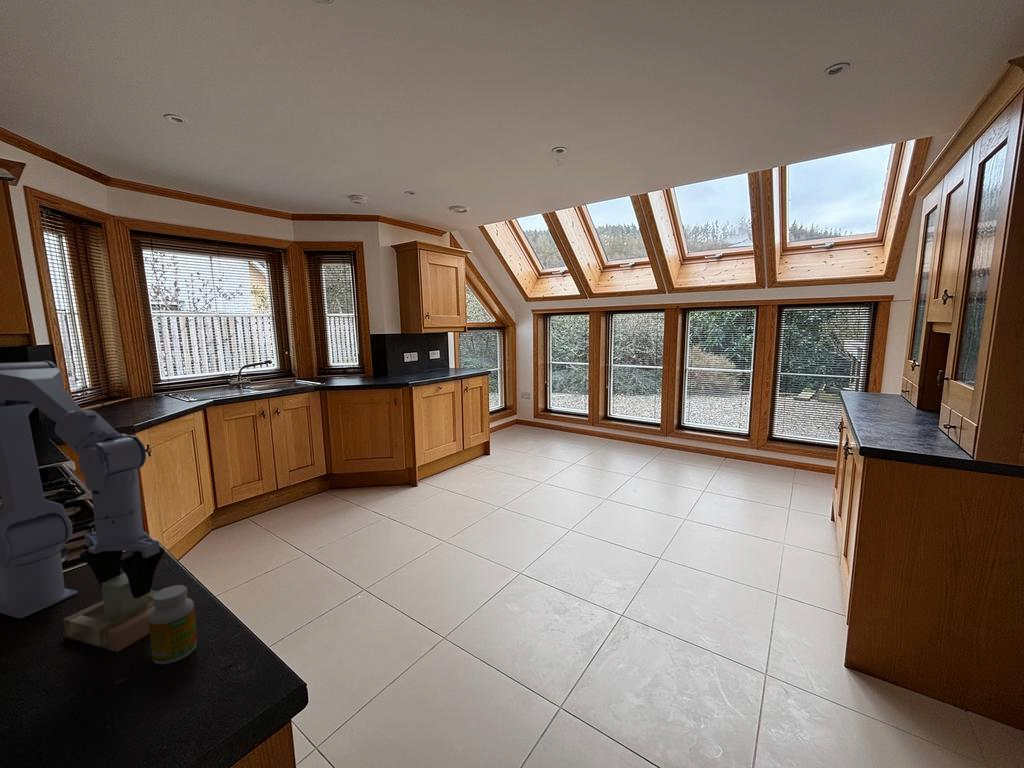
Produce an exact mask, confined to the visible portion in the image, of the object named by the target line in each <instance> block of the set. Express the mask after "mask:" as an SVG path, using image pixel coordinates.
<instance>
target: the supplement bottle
mask: <svg viewBox="0 0 1024 768" xmlns="http://www.w3.org/2000/svg"><path fill="white" fill-rule="evenodd" d="M157 591H158V592H157V593H156V594H155V595H154V596H153V605H154V607H155V608H154V609H153V610H152V611H151V612H150V614H149V628H150V633H149V637H150V646H151V647H150V648H151V658H152V661H153V663H155V664H157V665H169V664H172V663H175V662H176V663H177V662H178V661H180V660H182V659H185V658H187V657H188V656H189V655H190V654H192V652H194V651H195V649H196V648H197V645H198V638H197V625H196V614H195V604H194V601H193V600H192V598H190V597H188V589H187V586H185V585H182V584H179V585H178V584H177V585H171V586H168V587H165V588H162V589H160V590H157Z"/></svg>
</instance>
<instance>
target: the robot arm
mask: <svg viewBox="0 0 1024 768" xmlns="http://www.w3.org/2000/svg"><path fill="white" fill-rule="evenodd" d="M63 386H64V377H63V372H62V370H61V369H60V368H59V366H57V365H56V363H54V362H53V361H51V360H41V361H25V362H24V361H22V362H21V361H20V362H0V498H1V503H2V504H1V505H2V507H1V508H0V614H2V613H3V614H2V615H5V614H6V616H10V617H13V618H15V619H23V618H25V617H28V616H30V615H32V614H35V613H37V612H40V611H42V610H44V609H47V608H49V607H51V606H52V605H55V604H57V603H59V602H62V601H65V600H66V599H69V598H70V597H73V596H75V595H77V594H78V591H77V590H74V589H70V588H66V587H65V580H64V579H65V578H64V573H63V572H64V571H63V564H62V554H61V550H63V549H65V548H66V545H65V544H67V542H69V540H70V539H71V537H72V535H73V524H72V521H71V519H70V518H69V517H68V515H67V512H66V509H65V507H64V505H63V504H61V503H60V502H56V501H52V500H48V499H46V498H45V494H44V490H43V485H42V480H41V475H40V470H39V466H38V465H39V464H38V459H37V455H36V450H35V443H34V440H33V436H32V435H33V434H32V429H31V424H30V419H29V415H30V414H31V413H32V411H33V410H34V409H35V408H37V409H38V410H40V411H41V412H42V413H43V414H45V415H46V416H47V417H48V418H49V419H51V420H52V421H54V422H55V423H56V424H55V426H54V433H55V434H56V435H57V437H59V438H60V439H61V440H62V441H63V443H64V444H66V445H67V446H68V448H70V449H71V450H72V451H73V452H74V453H75V454H76V455H77V456H78V457H79V459H78V460H77V463H78V468H79V470H80V472H81V474H82V475H83V477H84V480H85V486H86V487H87V490H89V491H91V497H92V499H91V500H92V508H93V509H92V510H93V518H94V529H95V530H94V531H92V532H89V533H87V534H84V540H85V541H84V542H85V546H86V547H88V549H87V550H85V551H82V552H81V553H80V554H79V558H80V559H82V560H83V561H84V562H85V563H86V564H87V565H88V566H89V568H90V570H91V571H92V572H93V575H94V577H95V578H96V581H97V583H98V585H99V586H100V588H101V590H102V583H104V582H106V581H108V580H110V579H112V578H115V577H117V576H119V575H121V569H122V570H123V573H125V574H126V576H127V578H128V581H129V585H130V589H131V593H132V595H133V597H134V598H136V599H137V598H139V597H141V596H143V595H145V594H147V593H149V592H150V590H152V587H153V580H154V577H155V574H156V570H157V567H158V564H159V563H160V561H161V559H162V557H163V556H164V554H165V548H164V547H160V543H159V540H155V539H153V538H152V537H151V536H150V535H149V534H148V533H147V532H146V531H145V530H144V522H143V521H144V520H143V511H142V500H141V490H140V489H141V488H140V479H139V469H141V468H142V467H143V466H144V465H145V463H146V459H147V452H146V449H145V446H144V444H143V442H142V441H141V439H139V438H138V436H136V435H133V434H126V433H125V432H123V433H120V432H119V431H117V430H116V429H115V428H114V427H113V426H112V425H111V424H110V423H108V421H107V420H105V419H104V418H103V417H102V416H101V415H100V414H99V413H98V412H96V411H95V410H93V409H92V410H91V409H82V408H81V407H80V405H79V404H78V403H77V402H76V400H74V399H73V397H72V396H71V395H70V393H69V392H68V391H67V390H66V389H65V388H64V387H63ZM124 552H129V553H132V555H130V556H128V557H125V558H123V559H122V557H123V553H124Z"/></svg>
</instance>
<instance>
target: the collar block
mask: <svg viewBox="0 0 1024 768" xmlns="http://www.w3.org/2000/svg"><path fill="white" fill-rule="evenodd" d="M158 591H159V590H155V589H151V590H150V592H149V593H148V598H149V603H148V604H146V605H144V606H142V607H140V608H138V609H136V610H134V611H132V612H130V613H129V614H127V615H125V616H123V617H121V618H119V619H117V620H115V621H113V622H111V623H109V622H105V612H104V603H103V600H101V601H99V602H96V603H95V604H94V603H93V605H90V606H89V607H88V606H87V607H86V608H84V609H82V610H80V611H78V612H76V613H74V614H71V615H69V616H67V617H64V618H63V625H64V626H63V627H64V633H65V634H64V635H65V637H66V638H68V639H72V640H76V641H79V642H83V643H86V644H89V645H93V646H96V647H99V648H103V649H106V650H109V649H108V639H107V631H108V630H110V629H112V628H113V627H115V626H117V625H119V624H121V623H123V622H125V621H127V620H128V619H130V618H132V617H134V616H136V615H138V614H140V613H141V612H143V611H145V610H147V609H149V608H151V607H153V606H154V605H153V596H154V595H155V594H156V593H157V592H158Z"/></svg>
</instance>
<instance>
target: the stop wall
mask: <svg viewBox="0 0 1024 768" xmlns="http://www.w3.org/2000/svg"><path fill="white" fill-rule="evenodd" d="M154 608H155V607H154V606H153V607H151V608H149V609H147V610H145V611H143V612H141V613H140V614H138V615H136V616H134V617H132V618H130V619H128V620H127V621H125V622H123V623H121V624H119V625H117V626H115V627H113V628H112V629H110V630H108V631H107V639H108V649H107V650H108V651H112V652H115V653H119V652H120V651H122V650H123V649H125V648H127V647H129V646H130V645H132V644H133V643H136V642H137V641H139V640H141V639H142V638H144V637H145V636H148V635H150V628H149V614H150V612H151V611H152V610H153V609H154Z"/></svg>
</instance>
